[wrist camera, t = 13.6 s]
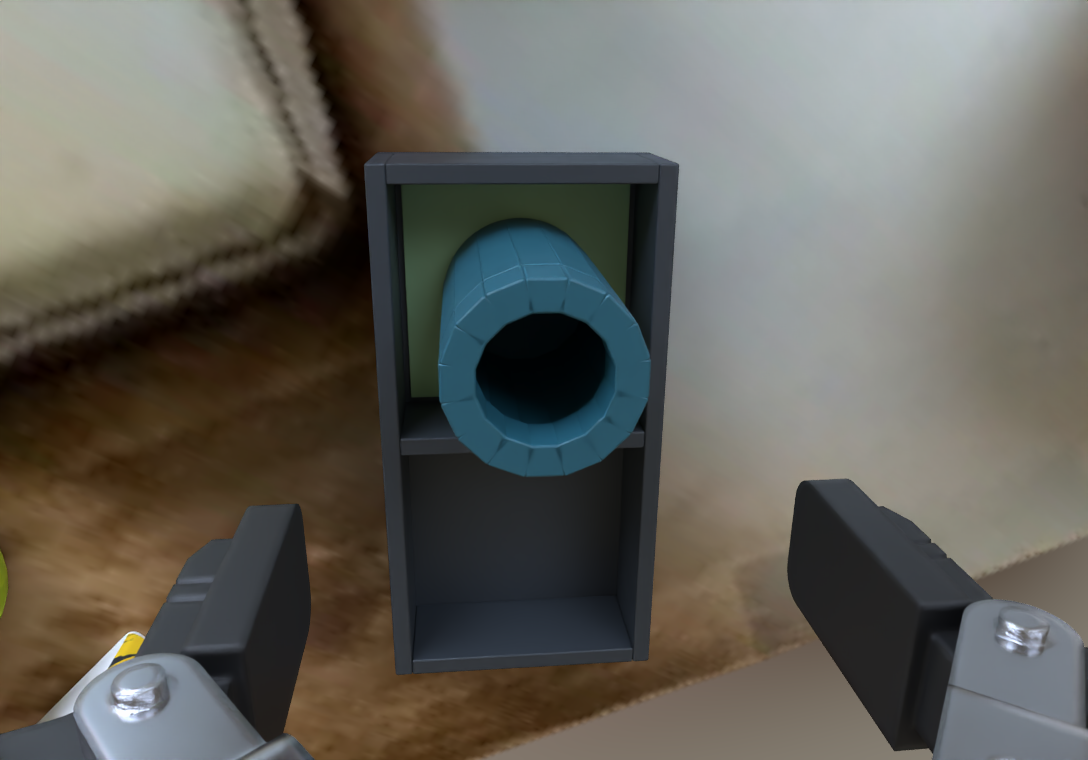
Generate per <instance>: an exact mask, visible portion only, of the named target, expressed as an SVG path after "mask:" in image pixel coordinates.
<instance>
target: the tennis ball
mask: <svg viewBox="0 0 1088 760" xmlns="http://www.w3.org/2000/svg"><path fill="white" fill-rule="evenodd" d="M7 593H8V573H7V567H6V564H5V561H4V557H3V554H2V552H1V549H0V618H1V616H2V613H3V610H4V606H5V603H6V598H7Z"/></svg>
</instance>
